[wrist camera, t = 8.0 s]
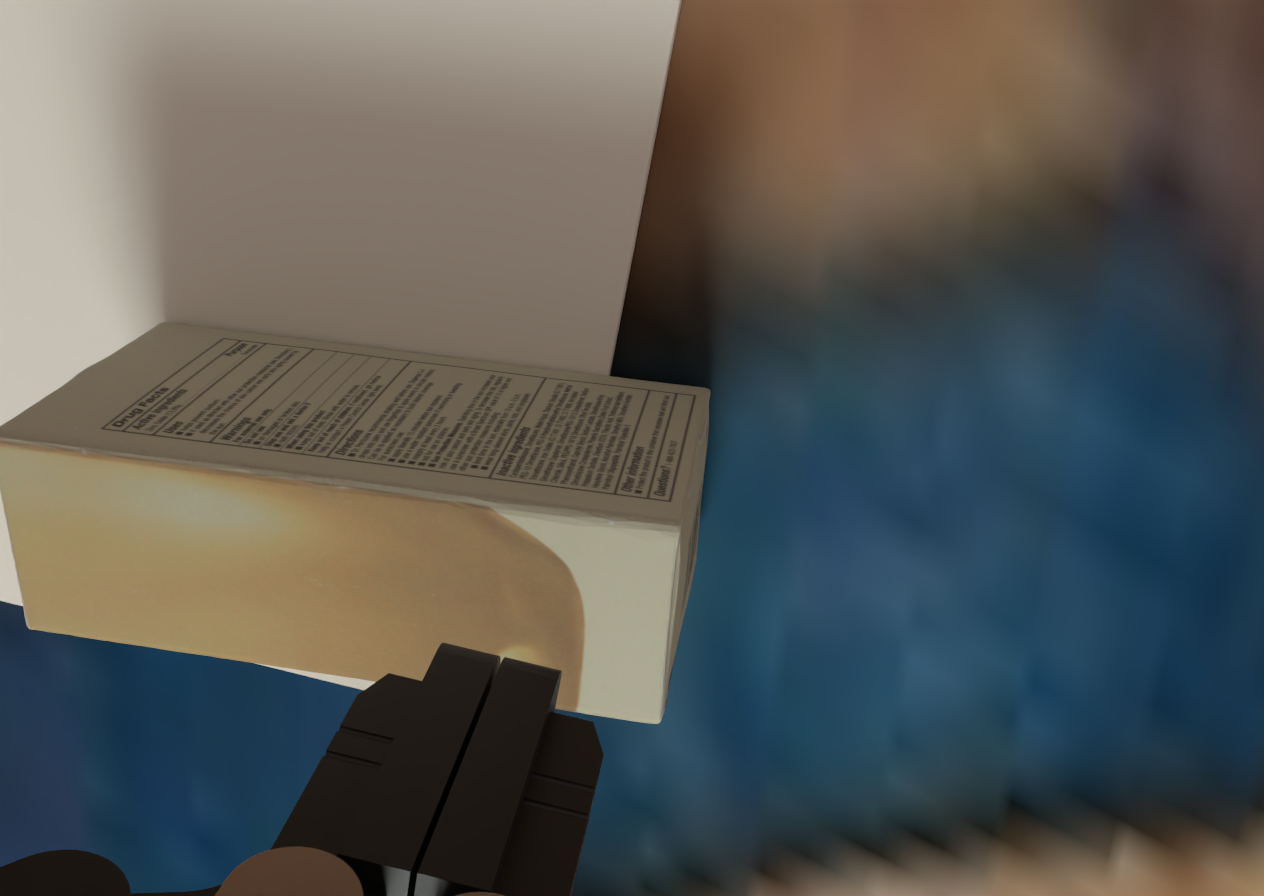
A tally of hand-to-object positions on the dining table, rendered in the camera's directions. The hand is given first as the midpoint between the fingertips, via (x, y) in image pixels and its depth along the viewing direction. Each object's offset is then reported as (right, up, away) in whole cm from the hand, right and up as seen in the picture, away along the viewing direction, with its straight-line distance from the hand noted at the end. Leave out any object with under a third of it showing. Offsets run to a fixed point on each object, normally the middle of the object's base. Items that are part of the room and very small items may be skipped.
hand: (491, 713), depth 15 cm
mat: (-6, +7, +11) cm, 14 cm away
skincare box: (+3, +1, +8) cm, 9 cm away
